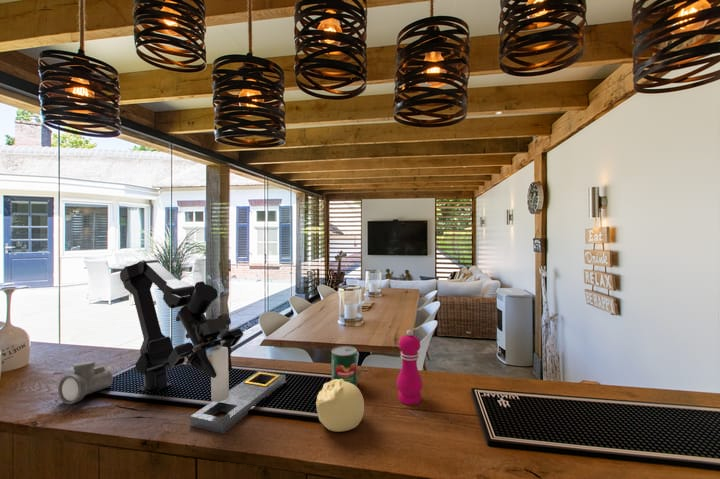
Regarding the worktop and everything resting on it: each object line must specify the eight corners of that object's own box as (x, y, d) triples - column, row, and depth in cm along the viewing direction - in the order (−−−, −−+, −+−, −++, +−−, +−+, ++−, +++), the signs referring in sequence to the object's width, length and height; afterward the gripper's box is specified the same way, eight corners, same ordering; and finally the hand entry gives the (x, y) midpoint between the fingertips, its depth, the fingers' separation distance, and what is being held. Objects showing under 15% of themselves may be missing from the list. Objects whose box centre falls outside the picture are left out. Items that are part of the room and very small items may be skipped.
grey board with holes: (223, 433, 83) (222, 422, 83) (190, 426, 86) (190, 415, 86) (285, 383, 110) (285, 374, 109) (258, 378, 113) (258, 370, 113)
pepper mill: (425, 396, 101) (425, 327, 100) (418, 408, 94) (418, 335, 93) (401, 391, 104) (401, 325, 103) (393, 402, 97) (393, 332, 96)
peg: (207, 399, 88) (206, 351, 88) (220, 392, 92) (219, 345, 91) (219, 403, 86) (218, 353, 86) (232, 395, 90) (231, 348, 90)
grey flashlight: (77, 406, 96) (77, 367, 97) (56, 404, 98) (56, 367, 99) (118, 391, 107) (118, 357, 108) (98, 390, 109) (99, 356, 110)
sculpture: (319, 411, 93) (319, 371, 92) (364, 412, 92) (364, 372, 92) (312, 437, 81) (311, 392, 81) (363, 438, 81) (363, 393, 80)
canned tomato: (342, 393, 102) (341, 357, 102) (326, 384, 108) (326, 350, 108) (362, 385, 108) (362, 350, 107) (346, 377, 113) (346, 344, 113)
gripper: (173, 313, 82) (201, 369, 77) (238, 299, 98) (266, 344, 93) (156, 340, 87) (182, 395, 82) (221, 322, 103) (247, 367, 97)
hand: (223, 373), depth 88 cm, fingers closed on peg, 4 cm apart
